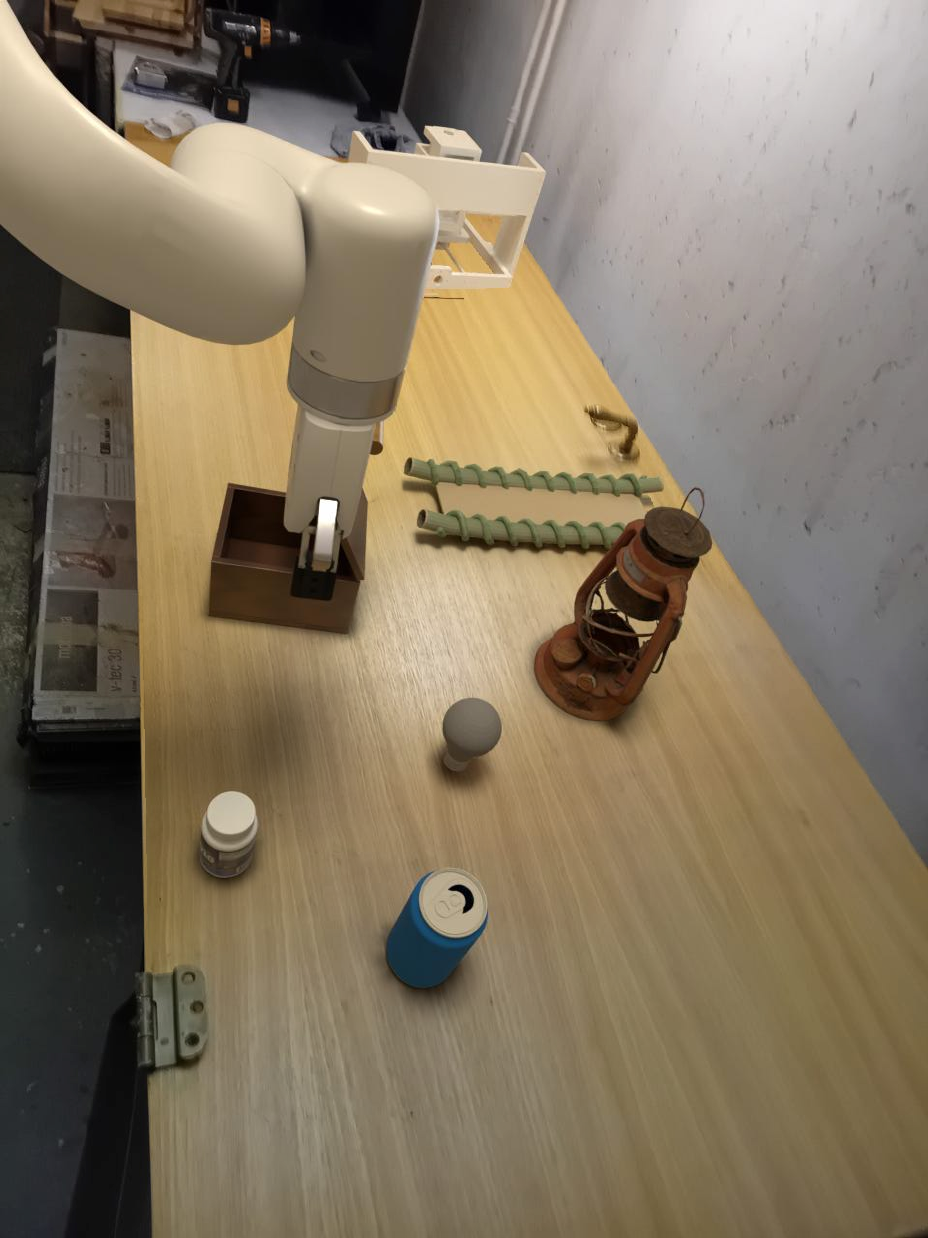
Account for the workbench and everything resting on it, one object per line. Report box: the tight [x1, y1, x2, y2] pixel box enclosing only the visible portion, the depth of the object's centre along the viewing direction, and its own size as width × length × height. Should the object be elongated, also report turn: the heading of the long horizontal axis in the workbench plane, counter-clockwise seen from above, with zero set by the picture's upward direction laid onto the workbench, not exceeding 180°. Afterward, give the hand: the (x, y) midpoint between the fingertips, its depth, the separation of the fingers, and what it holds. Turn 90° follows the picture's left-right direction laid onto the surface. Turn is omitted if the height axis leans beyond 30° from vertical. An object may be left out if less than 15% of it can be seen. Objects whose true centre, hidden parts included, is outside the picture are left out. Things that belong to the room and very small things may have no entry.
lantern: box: [533, 486, 713, 722], centre depth 89 cm, size 17×13×30 cm
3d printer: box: [347, 125, 547, 299], centre depth 151 cm, size 35×32×25 cm
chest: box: [207, 482, 361, 635], centre depth 94 cm, size 16×13×9 cm
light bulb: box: [441, 697, 503, 772], centre depth 84 cm, size 6×6×10 cm
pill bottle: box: [199, 790, 259, 879], centre depth 72 cm, size 5×5×8 cm
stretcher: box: [403, 456, 665, 550], centre depth 116 cm, size 41×14×5 cm, turn 102°
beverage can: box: [385, 867, 489, 989], centre depth 69 cm, size 6×6×12 cm
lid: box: [335, 420, 385, 582], centre depth 86 cm, size 16×13×7 cm
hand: (313, 551), depth 67 cm, fingers open, 9 cm apart
